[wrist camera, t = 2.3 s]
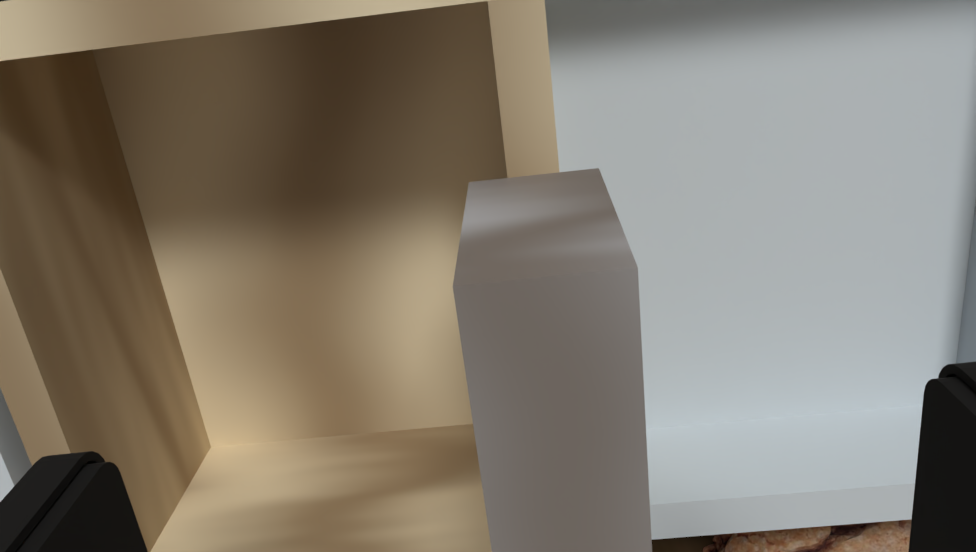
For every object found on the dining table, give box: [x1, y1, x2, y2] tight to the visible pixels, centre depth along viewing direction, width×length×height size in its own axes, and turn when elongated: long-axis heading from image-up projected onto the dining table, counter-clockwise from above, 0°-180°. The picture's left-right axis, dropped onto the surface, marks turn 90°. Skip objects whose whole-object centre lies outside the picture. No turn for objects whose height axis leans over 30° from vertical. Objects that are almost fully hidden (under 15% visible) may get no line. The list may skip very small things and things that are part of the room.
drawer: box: [0, 0, 652, 552], centre depth 14 cm, size 11×12×10 cm
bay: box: [0, 0, 976, 540], centre depth 16 cm, size 22×15×7 cm, turn 97°
